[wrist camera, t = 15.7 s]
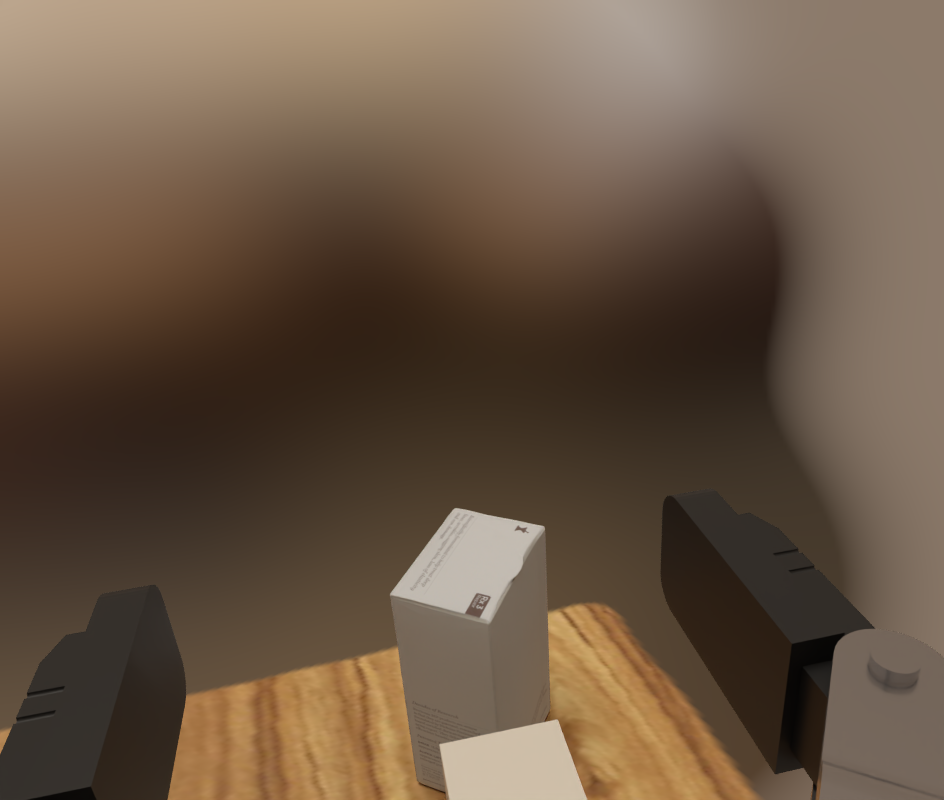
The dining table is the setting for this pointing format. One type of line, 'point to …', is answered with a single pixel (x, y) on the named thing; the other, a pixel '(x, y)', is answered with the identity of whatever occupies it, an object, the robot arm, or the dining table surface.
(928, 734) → the robot arm
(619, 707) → the dining table surface
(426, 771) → the skincare box
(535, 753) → the tall blank white box
